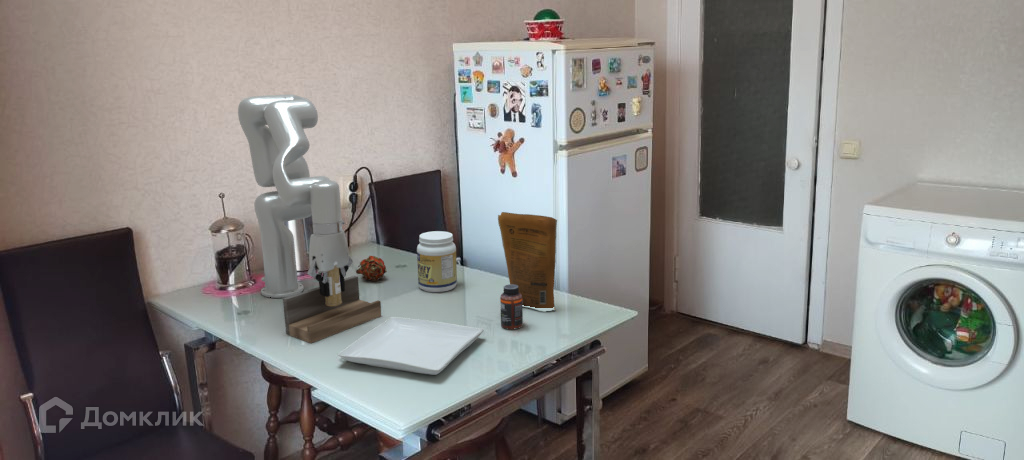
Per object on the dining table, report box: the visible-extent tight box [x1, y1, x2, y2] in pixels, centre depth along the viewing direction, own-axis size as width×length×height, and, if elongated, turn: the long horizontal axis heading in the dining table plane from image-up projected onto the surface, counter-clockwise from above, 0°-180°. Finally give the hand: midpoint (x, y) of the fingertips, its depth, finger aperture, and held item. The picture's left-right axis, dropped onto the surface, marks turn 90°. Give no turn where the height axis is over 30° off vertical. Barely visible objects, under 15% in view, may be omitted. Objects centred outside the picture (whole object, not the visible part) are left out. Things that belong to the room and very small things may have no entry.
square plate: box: [337, 316, 484, 376], centre depth 181 cm, size 27×27×4 cm
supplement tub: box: [416, 230, 458, 293], centre depth 228 cm, size 12×12×17 cm
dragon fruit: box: [355, 255, 388, 282], centre depth 238 cm, size 8×8×12 cm
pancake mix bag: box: [497, 211, 558, 308], centre depth 209 cm, size 7×19×28 cm, turn 51°
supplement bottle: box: [499, 283, 524, 330], centre depth 196 cm, size 6×6×11 cm
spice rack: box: [282, 275, 382, 344], centre depth 199 cm, size 11×24×10 cm, turn 142°
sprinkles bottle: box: [325, 262, 342, 307], centre depth 197 cm, size 5×5×14 cm
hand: (332, 292), depth 198 cm, fingers closed on sprinkles bottle, 4 cm apart
